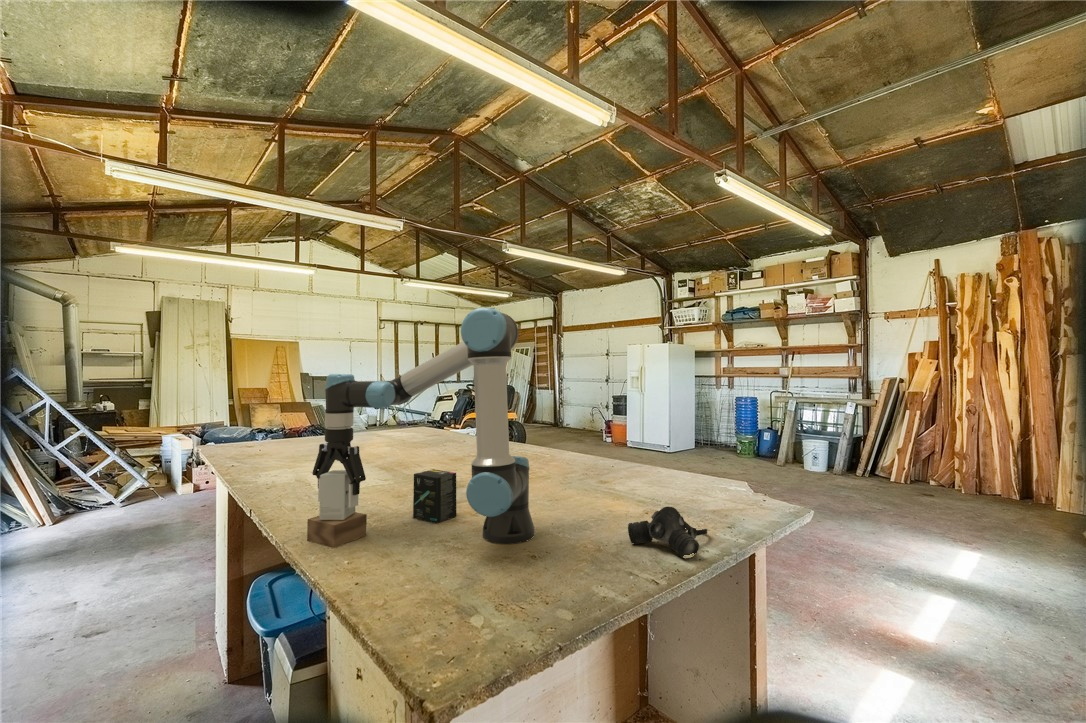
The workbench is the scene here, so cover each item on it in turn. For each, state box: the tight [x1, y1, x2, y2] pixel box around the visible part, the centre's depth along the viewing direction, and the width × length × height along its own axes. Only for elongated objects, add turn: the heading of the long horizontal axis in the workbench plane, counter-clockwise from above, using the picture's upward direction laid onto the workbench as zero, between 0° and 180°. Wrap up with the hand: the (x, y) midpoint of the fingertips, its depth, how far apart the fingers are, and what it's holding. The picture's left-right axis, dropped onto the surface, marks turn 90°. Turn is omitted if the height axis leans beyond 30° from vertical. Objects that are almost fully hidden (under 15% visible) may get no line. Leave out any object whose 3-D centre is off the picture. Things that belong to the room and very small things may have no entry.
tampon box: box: [412, 469, 458, 524], centre depth 152 cm, size 11×9×15 cm
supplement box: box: [319, 469, 356, 520], centre depth 133 cm, size 7×7×13 cm
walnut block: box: [306, 511, 368, 548], centre depth 133 cm, size 11×11×6 cm
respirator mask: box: [627, 506, 708, 558], centre depth 131 cm, size 20×22×15 cm
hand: (337, 503), depth 133 cm, fingers open, 12 cm apart
